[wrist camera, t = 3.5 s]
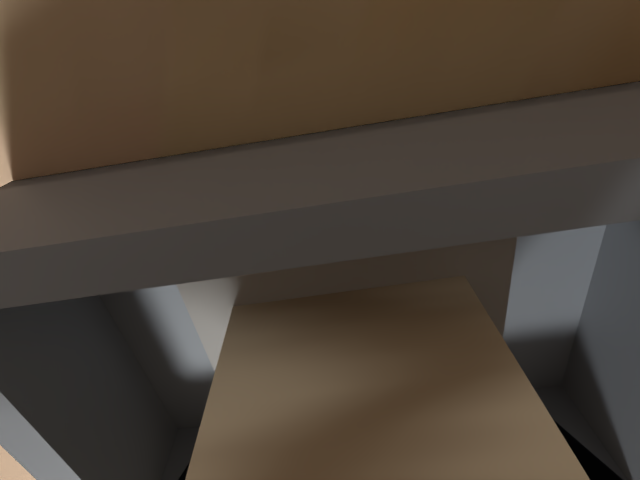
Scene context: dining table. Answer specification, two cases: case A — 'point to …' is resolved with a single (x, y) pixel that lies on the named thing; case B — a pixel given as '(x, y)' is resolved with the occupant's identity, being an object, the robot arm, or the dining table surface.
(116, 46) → the dining table surface
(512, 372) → the birch block
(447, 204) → the box
